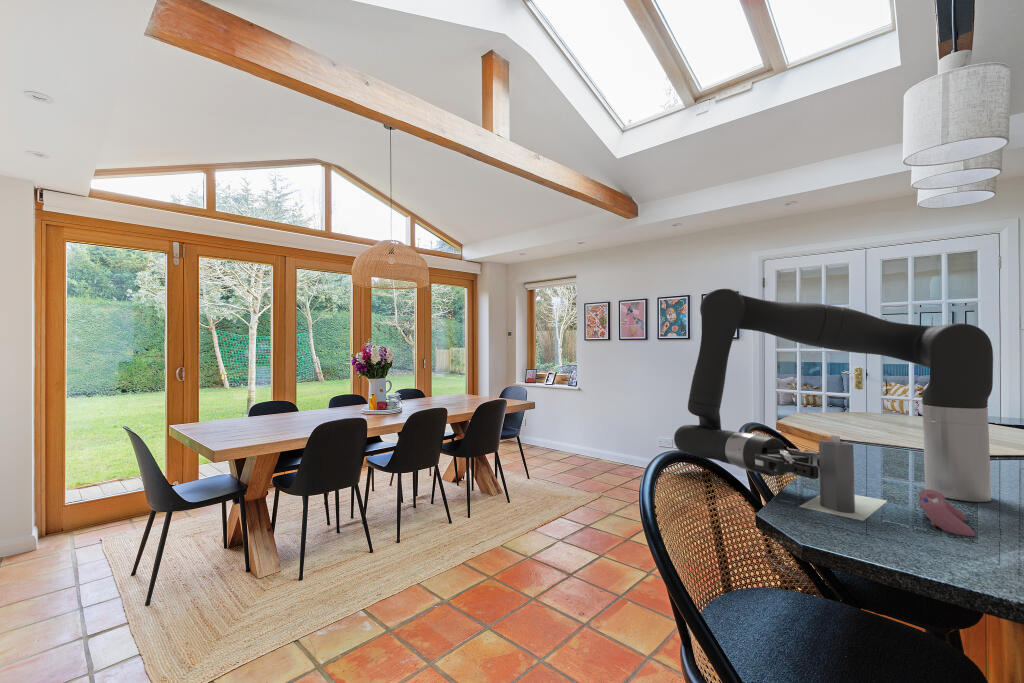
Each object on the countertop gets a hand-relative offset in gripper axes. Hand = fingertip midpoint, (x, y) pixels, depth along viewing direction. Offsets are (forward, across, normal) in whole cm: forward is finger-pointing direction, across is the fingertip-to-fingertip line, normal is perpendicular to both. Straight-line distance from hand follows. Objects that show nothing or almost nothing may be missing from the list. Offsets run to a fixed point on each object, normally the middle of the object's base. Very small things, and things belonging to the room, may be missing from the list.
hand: (834, 470), depth 78 cm
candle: (0, 0, +6) cm, 6 cm away
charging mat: (-1, +4, +7) cm, 8 cm away
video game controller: (+11, +8, +8) cm, 16 cm away
